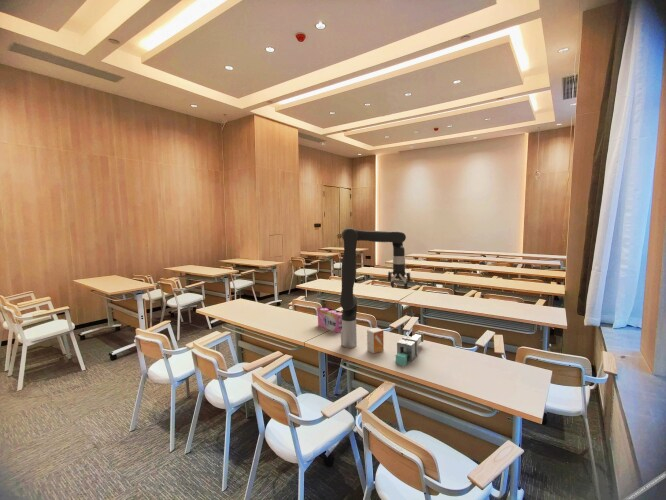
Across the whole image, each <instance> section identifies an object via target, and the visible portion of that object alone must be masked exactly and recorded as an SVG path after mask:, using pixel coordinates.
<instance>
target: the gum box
mask: <svg viewBox="0 0 666 500" xmlns="http://www.w3.org/2000/svg"><path fill="white" fill-rule="evenodd" d="M342 313H343V311H342V310H337V309H334V308H330V307H327V306H323V307H318V308H317V326H318V325H319V326H318V327H321V328H323V327H324V329H326V330H329V331H332V332H334V333H339V332H340V333H341V330H342Z"/></svg>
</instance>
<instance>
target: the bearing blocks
mask: <svg viewBox="0 0 666 500" xmlns="http://www.w3.org/2000/svg"><path fill="white" fill-rule="evenodd" d="M403 347H405V348H408V353H404V352H403ZM418 347H419V344H418V340H417V339H412V338H411V337H405V336H403V337H402V338H400V339H399V340H398V341H397V342H396V354H397V353H398V352H399V353H403V354H407V362H411V363H412V362H413V361H414V360H416V358H417V357H418V356H419V355H418V353H419V352H418V350H419V348H418Z"/></svg>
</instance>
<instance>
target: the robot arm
mask: <svg viewBox="0 0 666 500" xmlns="http://www.w3.org/2000/svg"><path fill="white" fill-rule="evenodd" d="M341 238H342V240H343V256H342V259H341V260H342V261H341V291H340V300H339V305H340V307H341V308H342V312H343V313H342V330H341V331H340V345H341V346H342V347H344V348H346V349H347V348H348V349H352V348H355V347H357V344H358V342H357V313H358V309H357V308H358V301H357V300H358V299H357V297H356V296H355V294H354V286H355V282H356V277H357V245H358V244H357V243H358V242H359V241H360V242H361V241H364V242H374V243H391V244H392V248H393V249H392V251H393V254H392V255H393V257H392V271H391V270H390V271H388V273H387V274H388V275H387V280H388V281H389V282H390V286H391V288H395V280H398V279H399V280H402V281H403V284H404V285H403V286H404V290H406V289H407V288H408V283H410V282H411V280H412V279H411V273H410V272H406V257H405V254H406V253H405V247H404V245H403V244H404V242H405V241H406V239H407V236H406V234H405V233H404V232H403V231H386V230H358V229H354V228H352V227H348V228H345V229H343V231H342V233H341ZM392 275H393V276H392Z"/></svg>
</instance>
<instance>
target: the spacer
mask: <svg viewBox="0 0 666 500" xmlns="http://www.w3.org/2000/svg"><path fill="white" fill-rule="evenodd" d="M395 364H396V365H400V366H403V365H404V366H403V367H405V366H406V365H407V364H408V361H407V354H403V353H399V352H398V353H397V352H396V354H395Z"/></svg>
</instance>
